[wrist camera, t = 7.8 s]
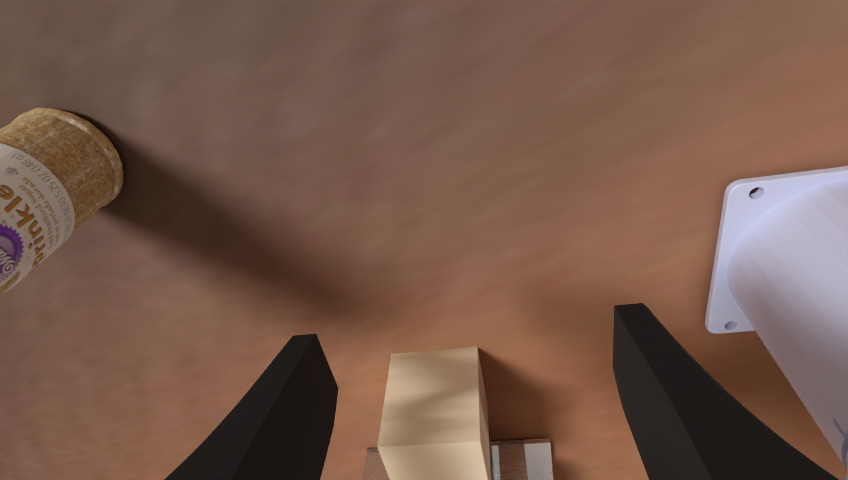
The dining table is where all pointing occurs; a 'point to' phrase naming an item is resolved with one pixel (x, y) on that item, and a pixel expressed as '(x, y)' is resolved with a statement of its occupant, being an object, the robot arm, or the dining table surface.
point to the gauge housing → (512, 461)
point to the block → (435, 417)
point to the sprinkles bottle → (49, 185)
